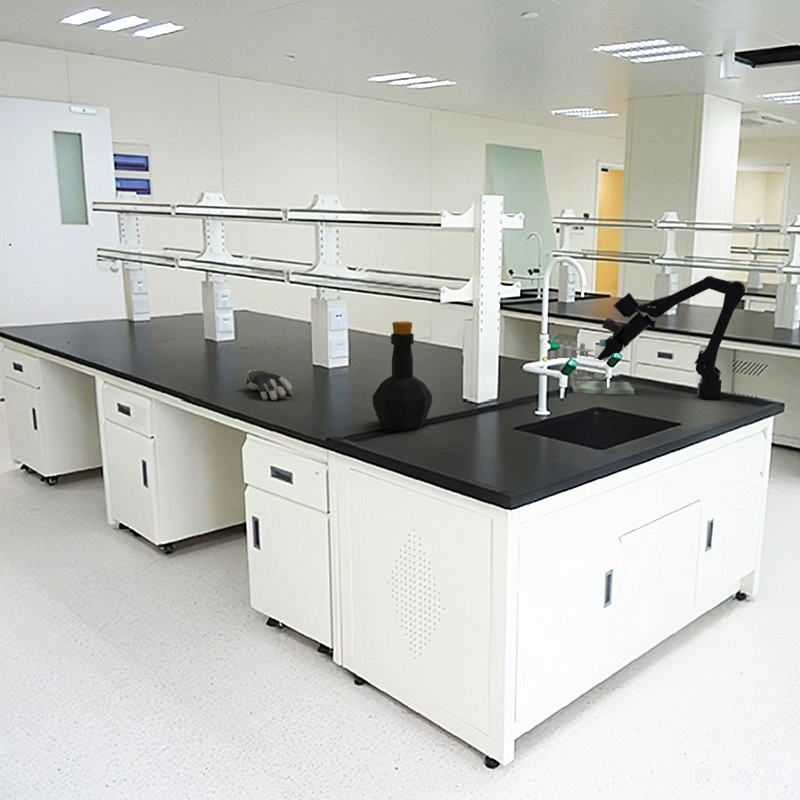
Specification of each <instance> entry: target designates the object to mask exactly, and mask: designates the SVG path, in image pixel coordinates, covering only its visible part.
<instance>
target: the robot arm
mask: <svg viewBox="0 0 800 800" xmlns="http://www.w3.org/2000/svg"><path fill="white" fill-rule="evenodd" d="M746 289H747V288H746V285H745V284H744V283H743V282H742V281H739V280H733V281H729V280H726V279H722V278H717V277H714V276H713V275H708V276H705V277H704V278H702V279H701V280H699V281H696V282H694V283H691V285H689V286H686V287H685V288H682V289H680V290H679V291H676V292H675V293H673V294H669V295H665V296H662V297H658V298H655V299H653V300H651V301H650V302H647V303H646V302H645V303H644V302H642V303H639V302H638V301H637V300H636V299H635V297H634V296H633V295H632V294H631V293H630V292H628V293H627V294H625V295H624V296H623V297H622V298H620V299H619V300H617V302H616V303H614V304H613V307H614V308H615V309H616V310H617V311H618V313H619V314H620V315H622V317H623V318H624V319H625V318H628V319H629V320H628V321H627V322H625V323H623V324H622V323H619V322H618V321H616V320H614V319H612V318H609V317H607V318H605V320H604V322H603V323H602V325H601V328H603V329H604V330H608V331H609V332H612V335H610V336H609V337H607V338H606V340H605V343H606V347H605V348H604V350H603V351H602V352H601V354H600V355H599V356H598V358H597V359H599V360H602V359H605V358H608V357H610V356H611V355H612V354H613V353H619V354H620V353H621V352H622V351H623V350H624V349H625V348H626V347H628V346H629V345H630V344H631V342H632V341H633V340H635V339H636V338H637V337H638V336H639V335H640V334H641V333H643V332H645V330H646V329H647V328H648V327H650V328H651V329H653V330H655V329H656V327H657V326H656V324H657V320H656V318H657V319H658V318H660V317H661V316H663V315H664V314H665V313H667V312H668V311H670V310H671V309H672V308H674V307H675V306H676V305H678V304H680V303H682V302H684V301H686V300H689V299H690V298H693V297H695V296H697V295H699V294H701V293H703V292H705V291H707V290H712V291H715V292H717V293H721V294H724V296H723V297H724V298H723V304H722V309H721V311H720V313H719V316H718V317H717V321H716V323H715V326H714V328H713V331H712V333H711V336H710V339H709V341H708V343H707V346H706V347H705V350H703V349H700V350H699V352H698V355H697V358H696V359H695V361H694V364H695V371H696V373H697V374H698V375H700V377H701V378H700V379H699V382H698V383H697V389H696V390H697V391H696V395H697V397H699V398H700V399H701V400H716V401H717V400H722V399H723V398H722V397H721V396H722V395H721V392H722V383H723V382H722V381H723V380H722V379H720V378H721V374H722V372H721V370H720V369H719V368H718V367H717V366H716V364H717V363H716V362H717V358H718V354H719V353H718V352H719V348H720V345H721V343H722V341H723V338H724V336H725V334H726V331H727V328H728V326H729V324H730V321H731V319H732V316H733V313H734V312H735V309H736V308H737V307H738V306H739V304H740V301H742V299H743V297H744V295H745V293H746ZM644 313H645V314H644ZM633 315H634V316H633ZM631 317H632V318H631ZM652 318H653V319H652Z"/></svg>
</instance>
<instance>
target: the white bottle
mask: <svg viewBox="0 0 800 800" xmlns="http://www.w3.org/2000/svg"><path fill="white" fill-rule="evenodd" d="M605 340H607V338H605V339H603V338H602V339H599V340H598V341H599V342H598V343H599V344H595V345H594V360H595V359H597V358H598V356H599V355H600V354H601V352H602V351H603V350H604V348H605V347H606V343H605ZM608 358H609V357H608ZM608 358H605V359H602V360H604V361H606V360H607V359H608ZM593 377H594V378H595V379H605V380H606V377H605V376H604V375H602V374H598V373H594V372H593Z"/></svg>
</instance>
